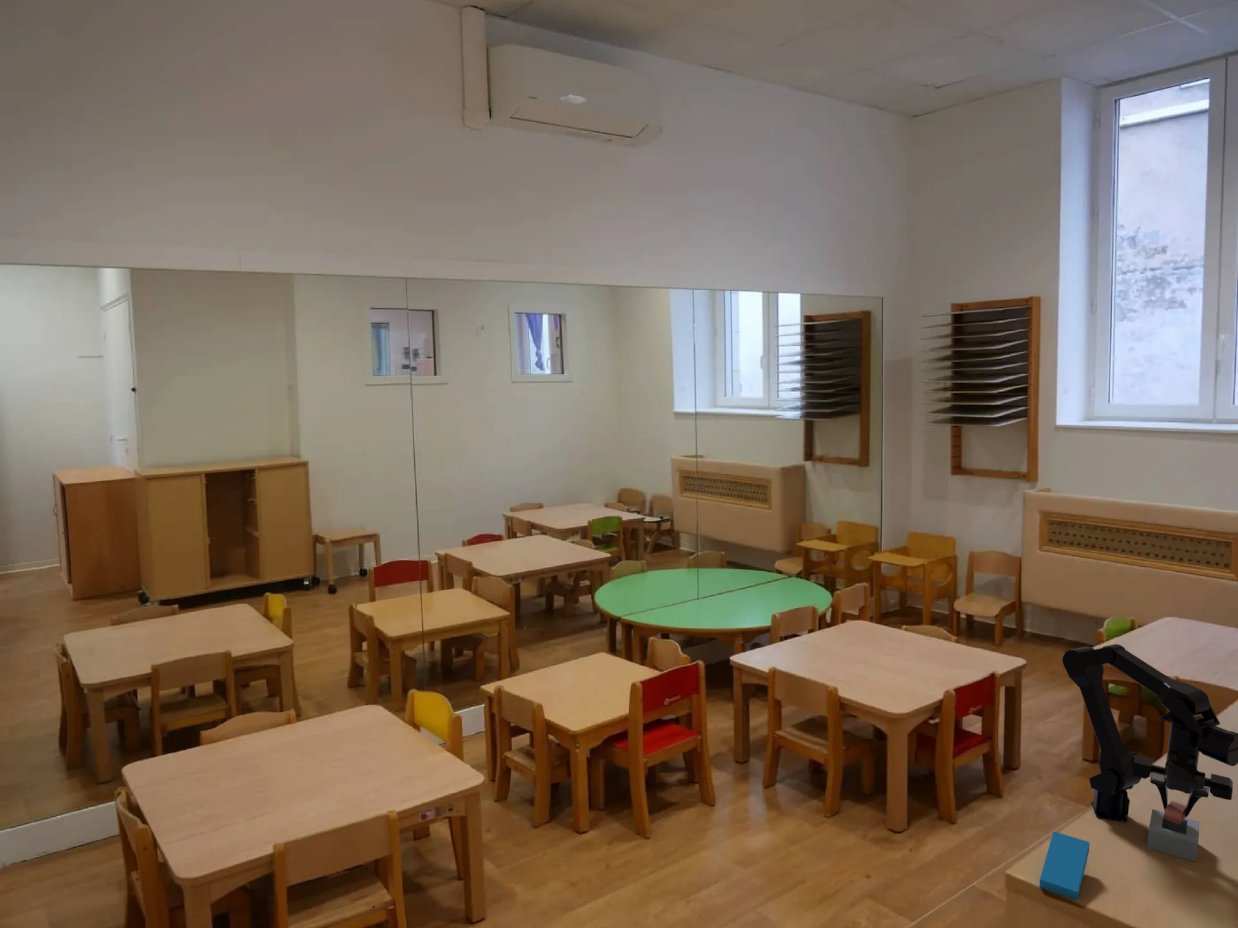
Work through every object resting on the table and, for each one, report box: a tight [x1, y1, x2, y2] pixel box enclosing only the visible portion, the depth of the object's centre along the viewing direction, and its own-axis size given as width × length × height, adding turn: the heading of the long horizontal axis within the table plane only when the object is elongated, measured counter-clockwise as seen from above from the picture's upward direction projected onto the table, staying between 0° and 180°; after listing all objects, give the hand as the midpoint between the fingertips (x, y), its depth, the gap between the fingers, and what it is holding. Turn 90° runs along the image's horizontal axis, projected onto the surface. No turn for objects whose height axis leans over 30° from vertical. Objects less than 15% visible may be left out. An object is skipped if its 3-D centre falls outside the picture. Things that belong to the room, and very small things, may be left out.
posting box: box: [1146, 808, 1201, 863], centre depth 194 cm, size 9×9×5 cm
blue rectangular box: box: [1039, 830, 1090, 901], centre depth 184 cm, size 7×7×18 cm
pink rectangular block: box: [1164, 800, 1187, 825], centre depth 194 cm, size 5×3×2 cm, turn 133°
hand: (1175, 813), depth 194 cm, fingers closed on pink rectangular block, 3 cm apart
